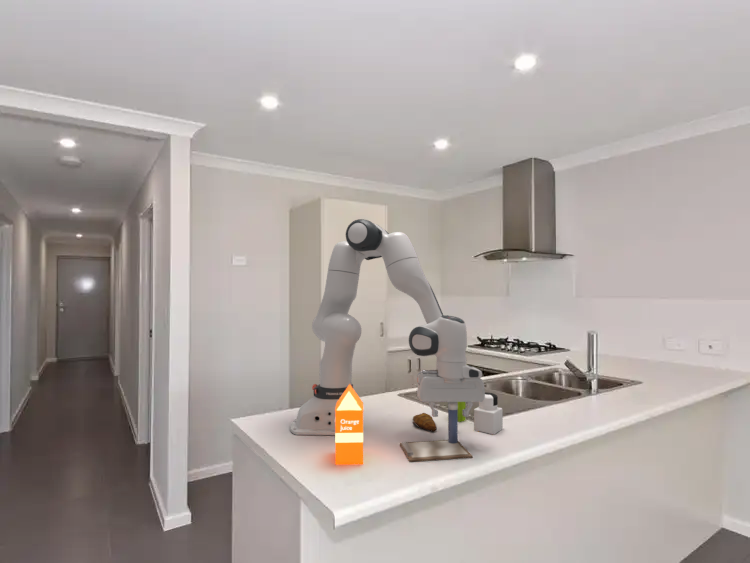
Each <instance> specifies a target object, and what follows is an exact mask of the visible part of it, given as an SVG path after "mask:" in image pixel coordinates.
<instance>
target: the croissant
mask: <svg viewBox="0 0 750 563" xmlns="http://www.w3.org/2000/svg"><path fill="white" fill-rule="evenodd" d="M412 421H413V423H414V425H415V426H417V427H418V428H420V429H422V430H425V431H427V432H433V433H434V432H437V424H436V422H435V420H434V418H433V416H432V415H430V414H428V413H425V412H422V413H419V414H415V415H414V416H413V417H412Z"/></svg>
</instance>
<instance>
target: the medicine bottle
mask: <svg viewBox="0 0 750 563" xmlns="http://www.w3.org/2000/svg"><path fill="white" fill-rule="evenodd" d="M498 403H499V400H498V395H497V394H495V393H494V392H485V398H484V400H483V401H482V402H478V406H477V407H476V408H474V409H473V431H476V432H481V433H486V434H488V435H489V434H490V435H492V436H493V435H495V434H497V433H498V432H500V431H502V430H503V427H504V426H503V423H504V422H503V408H502V407H498V405H499V404H498Z"/></svg>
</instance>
